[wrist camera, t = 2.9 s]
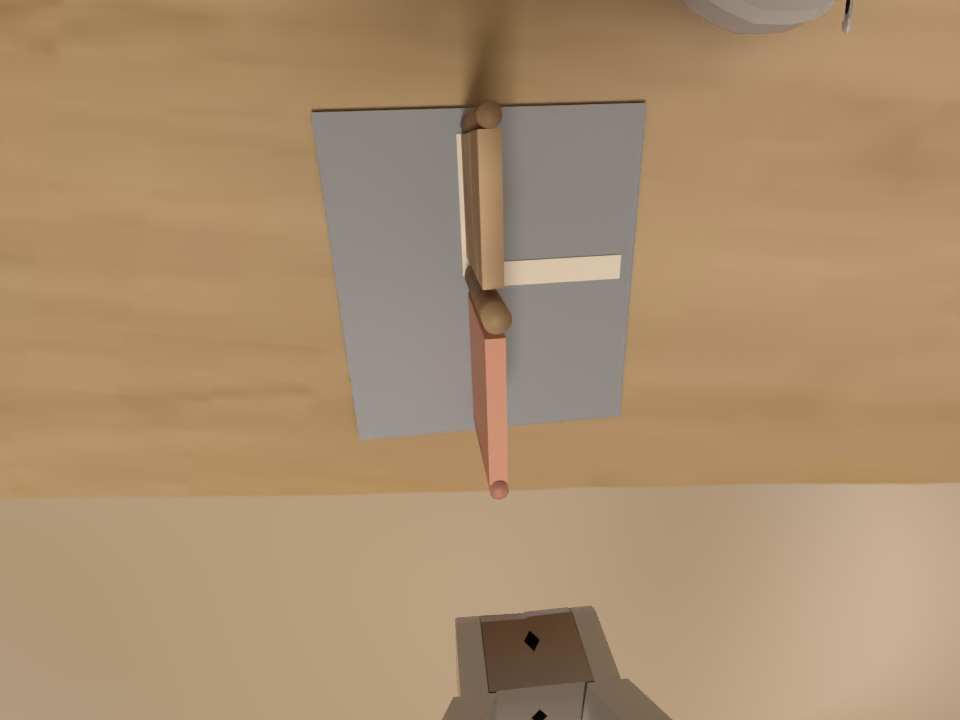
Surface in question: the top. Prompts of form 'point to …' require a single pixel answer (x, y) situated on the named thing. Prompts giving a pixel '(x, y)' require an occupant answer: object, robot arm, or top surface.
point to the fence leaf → (490, 401)
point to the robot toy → (764, 14)
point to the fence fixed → (484, 213)
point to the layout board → (442, 264)
